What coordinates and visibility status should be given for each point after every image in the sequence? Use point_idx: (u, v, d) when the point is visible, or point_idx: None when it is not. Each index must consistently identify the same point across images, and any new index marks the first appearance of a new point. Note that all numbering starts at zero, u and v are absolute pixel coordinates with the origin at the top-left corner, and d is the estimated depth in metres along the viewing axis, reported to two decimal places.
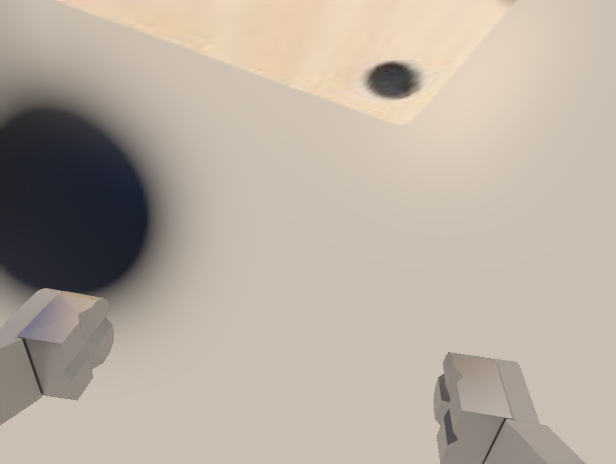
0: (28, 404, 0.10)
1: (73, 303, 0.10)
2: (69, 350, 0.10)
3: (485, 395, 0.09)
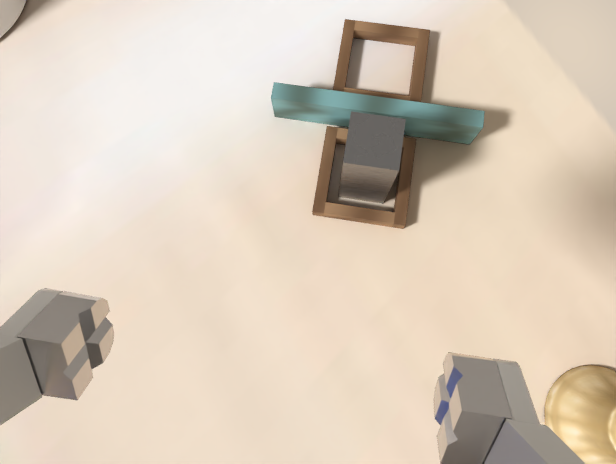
0: (28, 404, 0.10)
1: (73, 303, 0.10)
2: (69, 350, 0.10)
3: (485, 395, 0.09)
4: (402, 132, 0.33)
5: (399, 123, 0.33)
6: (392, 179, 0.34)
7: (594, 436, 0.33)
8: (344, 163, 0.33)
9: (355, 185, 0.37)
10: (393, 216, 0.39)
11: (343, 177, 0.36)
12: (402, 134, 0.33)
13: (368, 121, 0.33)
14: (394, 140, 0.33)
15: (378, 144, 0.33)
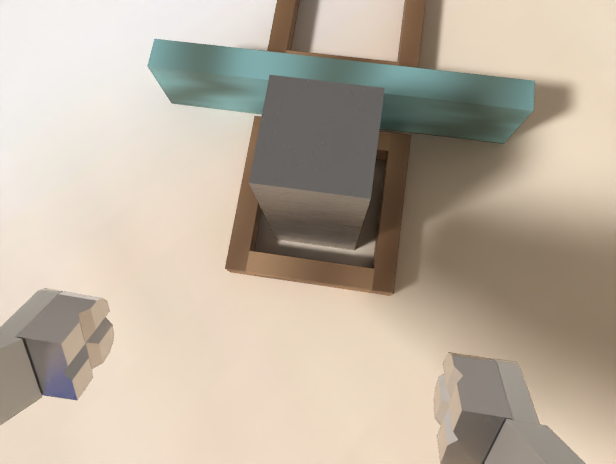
0: (28, 404, 0.10)
1: (73, 303, 0.10)
2: (69, 350, 0.10)
3: (485, 395, 0.09)
4: (377, 116, 0.15)
5: (371, 97, 0.15)
6: (361, 214, 0.17)
7: None
8: (253, 184, 0.15)
9: (295, 224, 0.19)
10: (371, 276, 0.21)
11: (266, 210, 0.18)
12: (377, 120, 0.15)
13: (305, 94, 0.16)
14: (360, 133, 0.15)
15: (327, 143, 0.15)
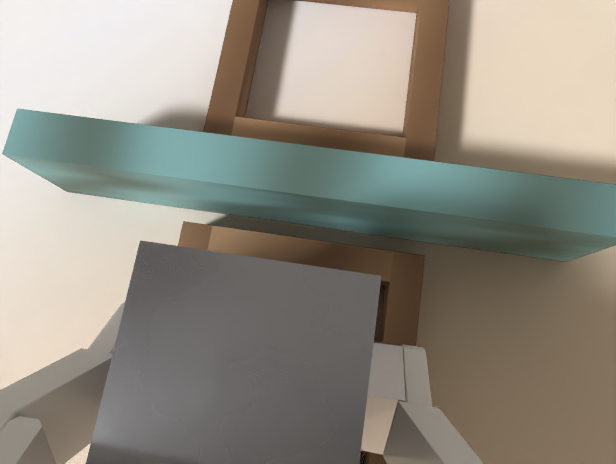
0: None
1: None
2: None
3: (384, 379, 0.09)
4: (365, 343, 0.07)
5: (352, 298, 0.07)
6: None
7: None
8: None
9: None
10: None
11: None
12: (365, 354, 0.07)
13: (212, 289, 0.07)
14: (327, 385, 0.07)
15: (254, 408, 0.07)
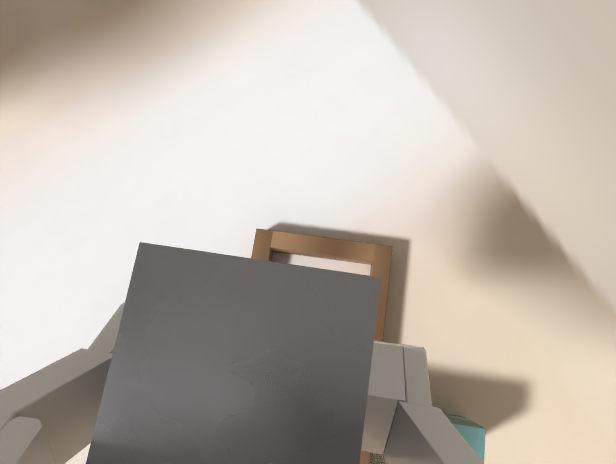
0: None
1: None
2: None
3: (384, 379, 0.09)
4: (365, 345, 0.07)
5: (352, 300, 0.07)
6: None
7: None
8: None
9: None
10: None
11: None
12: (365, 356, 0.07)
13: (212, 290, 0.07)
14: (327, 387, 0.07)
15: (253, 410, 0.07)
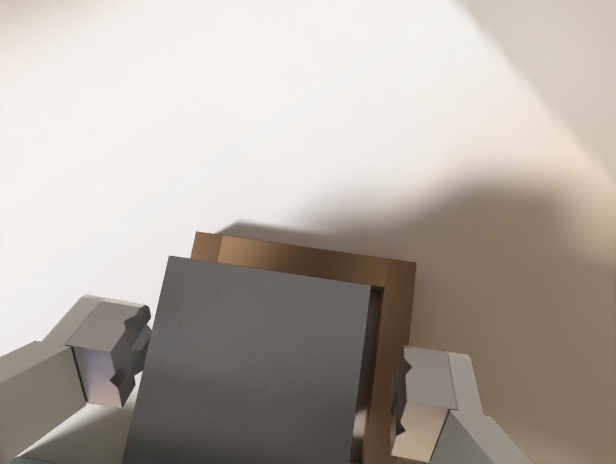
0: (73, 412, 0.10)
1: (117, 310, 0.10)
2: (116, 358, 0.09)
3: (432, 386, 0.09)
4: (357, 341, 0.08)
5: (346, 304, 0.09)
6: None
7: None
8: None
9: None
10: None
11: None
12: (357, 350, 0.08)
13: (230, 296, 0.09)
14: (326, 376, 0.08)
15: (265, 394, 0.08)
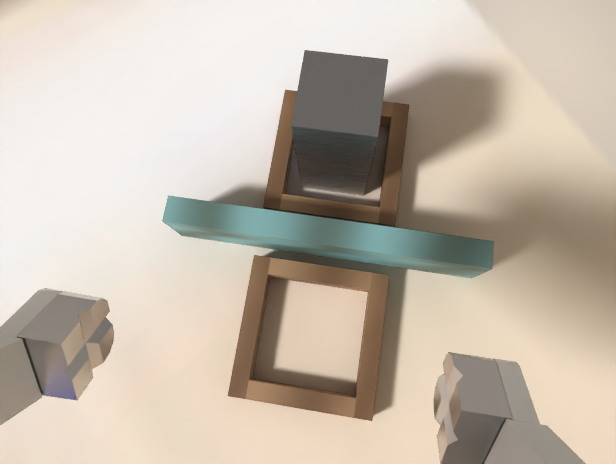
0: (28, 404, 0.10)
1: (73, 303, 0.10)
2: (69, 350, 0.10)
3: (485, 395, 0.09)
4: (383, 79, 0.21)
5: (378, 66, 0.22)
6: (370, 153, 0.23)
7: None
8: (294, 127, 0.21)
9: (319, 168, 0.25)
10: (353, 405, 0.25)
11: (298, 154, 0.24)
12: (383, 82, 0.21)
13: (331, 64, 0.22)
14: (370, 91, 0.21)
15: (346, 98, 0.21)
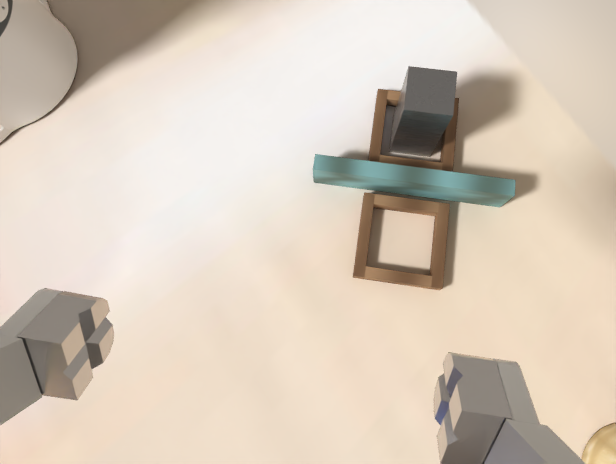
0: (28, 404, 0.10)
1: (73, 303, 0.10)
2: (69, 350, 0.10)
3: (485, 395, 0.09)
4: (454, 83, 0.38)
5: (451, 75, 0.38)
6: (444, 126, 0.39)
7: None
8: (404, 110, 0.37)
9: (408, 136, 0.42)
10: (430, 279, 0.41)
11: (399, 127, 0.40)
12: (454, 85, 0.38)
13: (424, 74, 0.38)
14: (447, 90, 0.37)
15: (434, 93, 0.37)
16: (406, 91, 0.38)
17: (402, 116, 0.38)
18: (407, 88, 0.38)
